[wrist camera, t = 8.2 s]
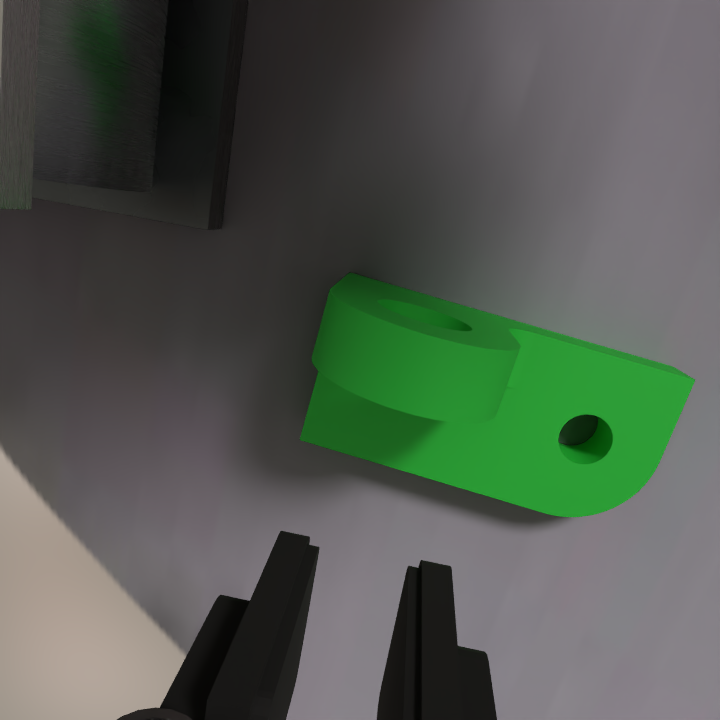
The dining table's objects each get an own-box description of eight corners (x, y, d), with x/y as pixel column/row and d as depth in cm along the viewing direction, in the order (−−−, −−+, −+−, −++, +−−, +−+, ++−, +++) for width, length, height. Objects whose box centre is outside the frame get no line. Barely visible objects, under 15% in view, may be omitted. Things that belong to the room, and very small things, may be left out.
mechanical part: (309, 421, 24) (257, 521, 16) (350, 271, 22) (314, 301, 15) (609, 511, 24) (703, 656, 16) (670, 365, 22) (807, 446, 14)
